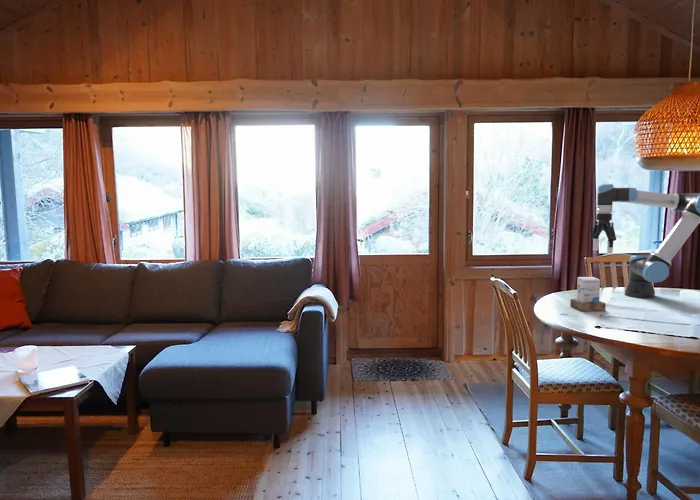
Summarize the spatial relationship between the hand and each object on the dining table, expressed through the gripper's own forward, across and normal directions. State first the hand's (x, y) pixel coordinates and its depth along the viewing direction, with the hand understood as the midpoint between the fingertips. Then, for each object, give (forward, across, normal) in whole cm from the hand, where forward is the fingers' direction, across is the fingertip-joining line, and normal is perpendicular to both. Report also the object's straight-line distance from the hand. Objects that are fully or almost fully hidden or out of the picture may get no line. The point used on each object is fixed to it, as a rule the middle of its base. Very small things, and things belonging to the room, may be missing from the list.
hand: (602, 251), depth 282 cm
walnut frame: (+27, +19, -18) cm, 37 cm away
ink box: (+23, +19, -18) cm, 35 cm away
